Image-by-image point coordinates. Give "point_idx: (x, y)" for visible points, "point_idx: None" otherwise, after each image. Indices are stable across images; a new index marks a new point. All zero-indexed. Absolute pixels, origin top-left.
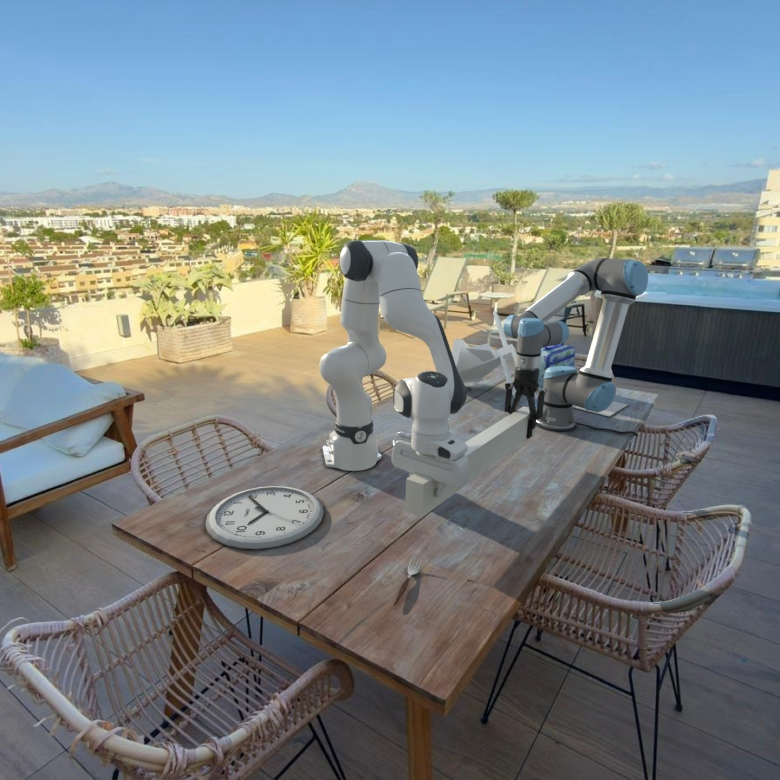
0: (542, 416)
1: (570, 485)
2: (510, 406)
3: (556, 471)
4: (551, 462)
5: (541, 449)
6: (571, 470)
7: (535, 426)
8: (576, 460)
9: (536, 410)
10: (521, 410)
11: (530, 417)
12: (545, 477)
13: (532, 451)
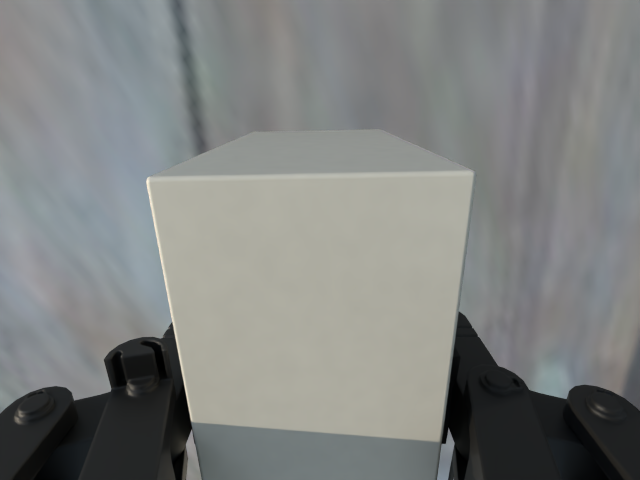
0: (631, 407)
1: (618, 349)
2: (35, 475)
3: (541, 263)
4: (496, 177)
5: (389, 18)
6: (613, 205)
7: (466, 323)
8: (634, 43)
9: (466, 192)
10: (254, 414)
11: (454, 473)
12: (506, 346)
13: (352, 96)
